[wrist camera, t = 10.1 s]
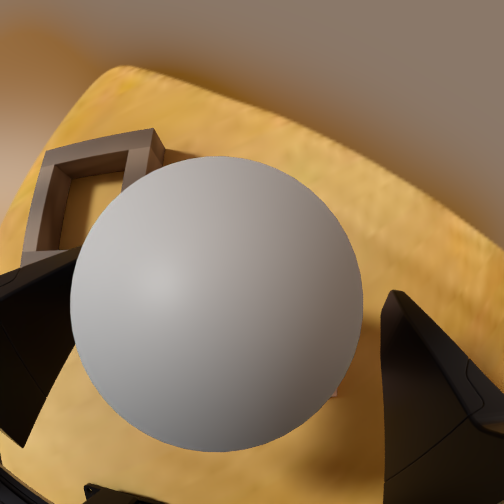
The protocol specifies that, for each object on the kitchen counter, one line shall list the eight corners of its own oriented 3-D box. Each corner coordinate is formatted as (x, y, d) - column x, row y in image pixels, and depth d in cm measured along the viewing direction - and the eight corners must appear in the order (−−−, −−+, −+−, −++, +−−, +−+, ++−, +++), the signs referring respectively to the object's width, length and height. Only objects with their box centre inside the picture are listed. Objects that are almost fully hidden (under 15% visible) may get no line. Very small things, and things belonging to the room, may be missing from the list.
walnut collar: (151, 281, 18) (134, 274, 15) (41, 280, 18) (19, 273, 16) (165, 148, 20) (153, 128, 18) (62, 165, 21) (46, 151, 18)
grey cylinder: (295, 361, 16) (361, 446, 3) (212, 361, 16) (74, 427, 4) (293, 279, 17) (346, 153, 5) (212, 281, 17) (89, 171, 5)
